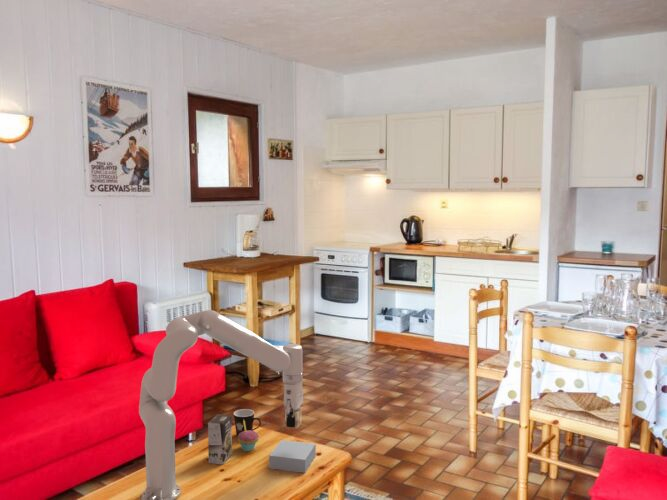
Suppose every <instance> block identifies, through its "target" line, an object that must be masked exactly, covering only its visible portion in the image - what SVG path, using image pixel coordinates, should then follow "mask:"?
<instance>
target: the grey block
mask: <svg viewBox="0 0 667 500" xmlns="http://www.w3.org/2000/svg"><path fill="white" fill-rule="evenodd" d="M316 447H317V444H316V443H312V442H310V443H309V442H302V441H295V440H294V441H293V440H292V441H291V440H285V439H281V440H280V441H279V443H278V444H277V445H276V446H275V448H274V449H273V450H272V451H271V452H270V454H269V456H268V457H269V458H268V462H269V463H268V464H269V465H268V466H269V469H271V470H279V471H287V472H288V471H289V472H294V473H295V472H296V473H302V474H303V473H304V474H305V473H307V471H308V470H309V468H310V466H311V465H312V462H314V460H315V458H316V457H317V456H316V452H317V450H316ZM313 459H314V460H313Z"/></svg>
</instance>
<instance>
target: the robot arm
mask: <svg viewBox="0 0 667 500" xmlns="http://www.w3.org/2000/svg"><path fill="white" fill-rule="evenodd" d="M165 334H166V336H164V338H163V339H162V340H161V341H160V342H159V343H158V344H157V346H156V347H155V349H154V352H153V355H152V363H151V364H152V365H151V367H150V368H148V369H147V370H146V371H145V373H144V375H143V377H142V380H141V386H140V395H139V404H138V405H139V406H138V414H139V416H140V419H141V421H142V422H143V424H144V427H145V438H144V439H145V441H144V449H145V472H146V473H145V478H146V488H145V489H144V490H143V491H142V493H141V498H140V500H176V499H177V498H179V496H180V495H181V486H179V485H178V484H177V482H176V481H177V478H176V477H177V476H176V448H175V447H176V446H175V445H176V443H175V438H176V437H175V436H176V426H177V422H176V421H177V420H176V415H175V412H174V411H173V409H172V408H171V406H169V405H168V401H170V400H171V399H172V398H173V397H174V396H175V393H176V390H177V382H178V381H177V379H178V371H179V363H180V360H181V356H182V355H183V354H184V353H185V352H187V350H189V349H190V348H192V347H193V346H194V345H195V344H196V343H197V342H198V338H199V336H202V335H205V334H206V336H208V337H210V338H212V339H214V340H216V341H217V342H219V343H221V344H223V345H224V346H227V347H228V348H230V349H232V350H235V352H238V353H239V354H242V355H243V356H246V357H248V358H250V359H252V360H254V361H256V362H258V363H259V364H261V365H264V366H265V367H267V368H269V369H271V370H273V371H274V372H277V373H281V372H282V382H283V383H284V387H283V389H284V390H283V407H284V410H285V411H284V414H285V413H286V417H287V427H286V428H289V427H293V428H292V429H295V428H294V427H295V417H294V411H295V410H297V409H298V408H301V405H303V403H304V388H303V382H304V378H303V377H304V374H303V371H304V370H303V362H304V361H303V355H304V354H303V353H304V352H303V347H302V345H300V344H297V343H288V344H285V345H276V344H275V345H273V344H272V343H270V342H268V341H266V340H265V339H263V338H261V336H259V335H257V334H256V333H255V332H253V331H252V330H249V329H248V328H246V327H245V326H243V325H241V324H239V323H237V322H235V321H233V320H232V319H230V318H229V317H227V316H225V315H223V314H221V313H220V312H218V311H215V310H212V309H211V310H210V309H209V310H208V309H207V310H203V311H202V310H201V311H199V312H195V313H191V314H187V315H183V316H179V317H176V318H173V319H172V320H169V323H168V324H167V325H166V327H165ZM290 407H292V408H293V409H291V408H290ZM290 410H292V412H290Z"/></svg>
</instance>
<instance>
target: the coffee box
mask: <svg viewBox="0 0 667 500" xmlns="http://www.w3.org/2000/svg"><path fill="white" fill-rule="evenodd" d="M232 420H233V419H232V415H231V414H221V413H217V414H216V415H214V416H213V417H212V418H211V419H210V420H209V421H208V422H207V432H208V433H207V434H208V435H207V436H208V438H207V441H208V444H207V445H208V446H207V447H208V448H207V449H208V450H207V451H208V464H217V465H224V464H225V463H226V462H227V461H228V459H229V458H230V457H231V456H233V433H232V432H233V429H232V427H233V425H232V424H233V422H232Z"/></svg>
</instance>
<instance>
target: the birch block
mask: <svg viewBox="0 0 667 500" xmlns="http://www.w3.org/2000/svg"><path fill="white" fill-rule="evenodd" d="M290 408H291V409H293V408H292V407H290ZM290 412H292V410H290ZM294 417H295V427H294V428H293V427H287V417H286V413H285V412H284V427H285V428H291V429H299V428H300V426H301V424H303V423H302V421H303V420H302V407H300V408H298V409H297V410H295V411H294Z"/></svg>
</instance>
